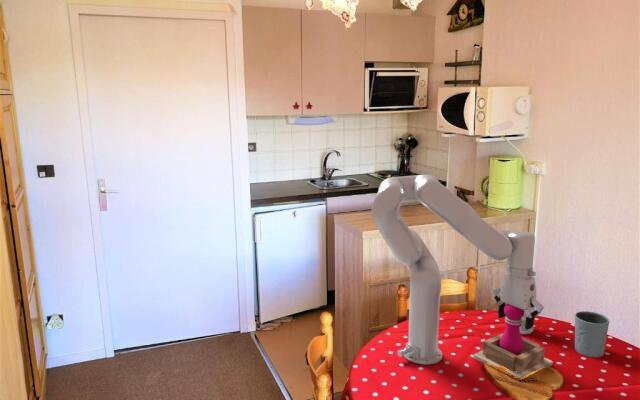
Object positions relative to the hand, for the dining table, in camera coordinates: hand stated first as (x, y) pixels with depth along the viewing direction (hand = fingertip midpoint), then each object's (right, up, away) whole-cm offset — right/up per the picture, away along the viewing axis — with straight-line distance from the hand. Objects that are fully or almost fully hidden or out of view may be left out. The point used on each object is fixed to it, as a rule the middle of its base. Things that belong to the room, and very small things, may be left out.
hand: (515, 322), depth 157 cm
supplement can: (+12, -9, +24) cm, 28 cm away
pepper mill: (0, -12, +3) cm, 12 cm away
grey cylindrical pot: (+28, -12, +9) cm, 32 cm away
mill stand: (0, -13, +3) cm, 13 cm away
